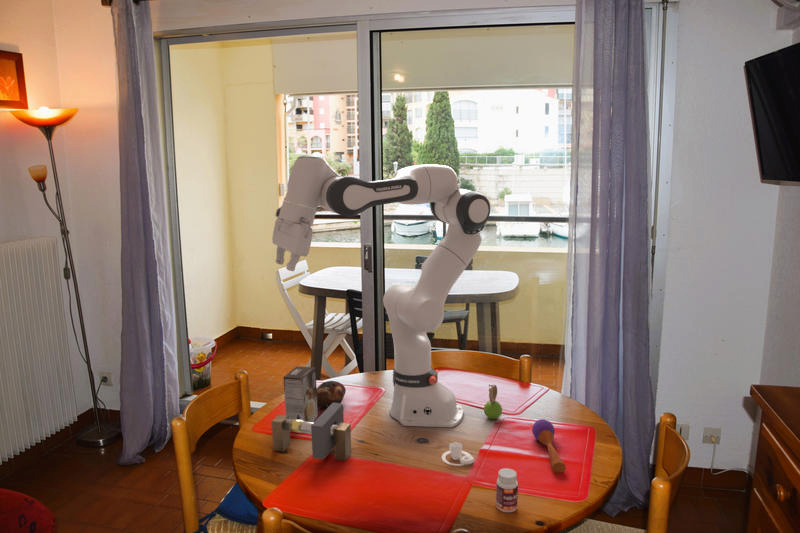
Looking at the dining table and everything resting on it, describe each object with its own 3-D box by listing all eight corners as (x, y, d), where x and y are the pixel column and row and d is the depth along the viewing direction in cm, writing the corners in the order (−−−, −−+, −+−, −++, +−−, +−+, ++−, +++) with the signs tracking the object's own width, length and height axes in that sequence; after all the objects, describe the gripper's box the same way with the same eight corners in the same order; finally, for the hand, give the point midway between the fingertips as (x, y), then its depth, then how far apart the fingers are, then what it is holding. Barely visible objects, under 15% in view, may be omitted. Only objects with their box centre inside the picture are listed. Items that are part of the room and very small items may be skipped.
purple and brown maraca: (545, 459, 145) (528, 417, 164) (548, 480, 146) (531, 435, 166) (569, 455, 144) (550, 413, 164) (572, 476, 146) (552, 432, 165)
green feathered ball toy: (480, 422, 173) (481, 383, 171) (486, 413, 179) (486, 375, 177) (498, 424, 171) (499, 386, 169) (503, 415, 177) (504, 378, 175)
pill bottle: (504, 515, 129) (504, 480, 128) (491, 503, 133) (492, 470, 132) (521, 509, 131) (522, 475, 130) (509, 498, 135) (509, 465, 134)
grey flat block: (344, 434, 162) (343, 403, 160) (323, 459, 149) (322, 426, 147) (334, 432, 163) (332, 402, 161) (312, 457, 149) (311, 425, 148)
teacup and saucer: (478, 466, 150) (478, 451, 149) (449, 471, 148) (449, 456, 147) (464, 449, 158) (465, 435, 158) (437, 454, 156) (437, 440, 155)
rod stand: (351, 453, 156) (350, 423, 155) (345, 460, 153) (344, 430, 151) (280, 443, 162) (278, 414, 161) (273, 450, 159) (271, 420, 157)
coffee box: (299, 414, 180) (296, 365, 176) (318, 417, 178) (316, 367, 175) (285, 428, 171) (282, 376, 168) (306, 430, 169) (303, 378, 166)
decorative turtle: (307, 414, 180) (305, 389, 179) (324, 397, 194) (323, 374, 193) (336, 415, 177) (335, 390, 176) (352, 398, 192) (350, 375, 191)
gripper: (322, 223, 145) (309, 277, 146) (296, 214, 163) (284, 262, 164) (299, 217, 142) (285, 272, 143) (274, 209, 160) (262, 258, 160)
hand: (284, 267), depth 153 cm, fingers open, 8 cm apart
